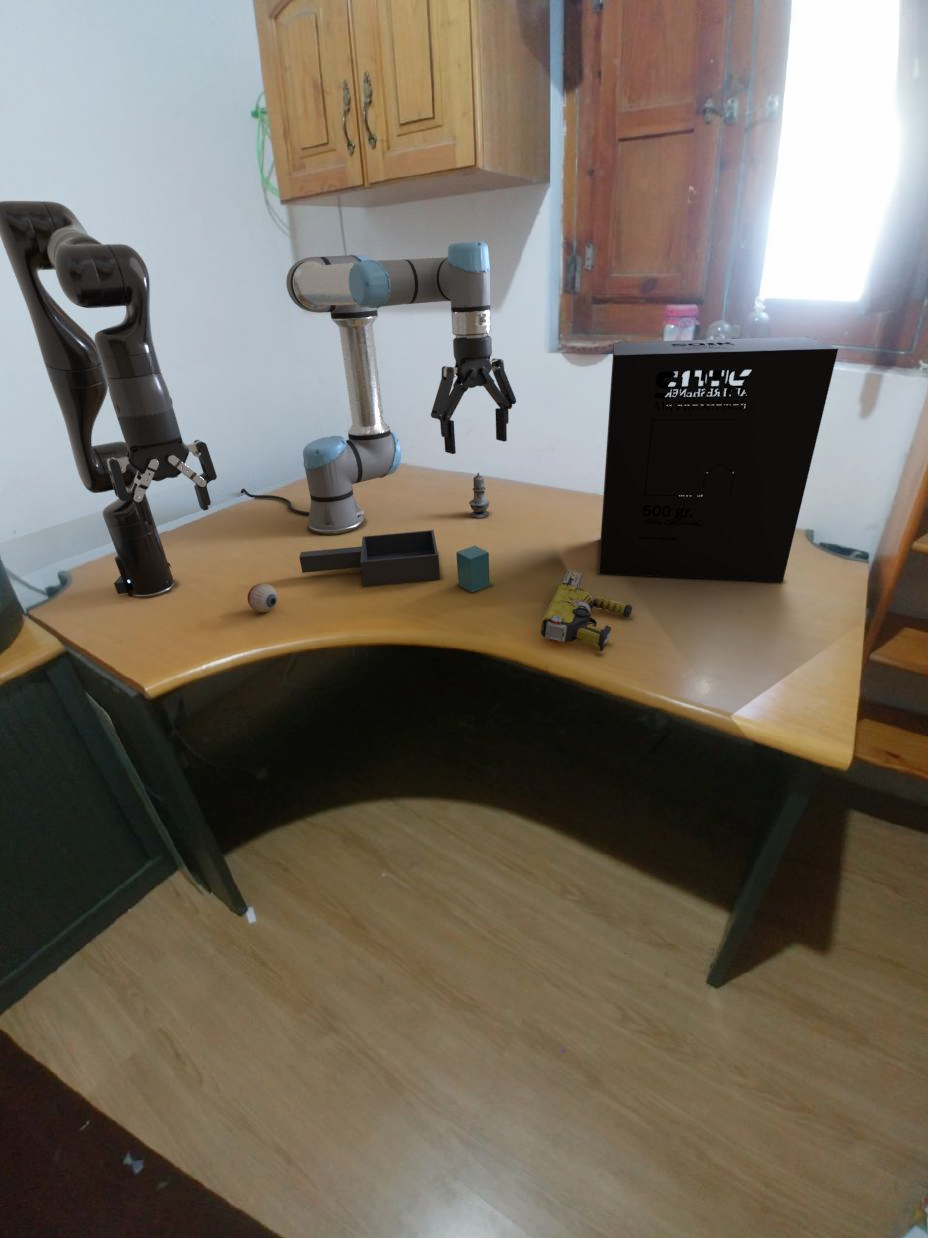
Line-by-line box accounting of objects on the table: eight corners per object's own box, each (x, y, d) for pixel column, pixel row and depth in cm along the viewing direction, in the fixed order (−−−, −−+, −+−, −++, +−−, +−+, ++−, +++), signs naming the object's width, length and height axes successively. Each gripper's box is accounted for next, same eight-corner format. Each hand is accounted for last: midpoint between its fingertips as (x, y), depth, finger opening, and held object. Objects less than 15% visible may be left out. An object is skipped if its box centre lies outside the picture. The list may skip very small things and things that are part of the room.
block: (458, 585, 133) (456, 551, 129) (476, 578, 136) (474, 545, 132) (471, 592, 130) (470, 558, 126) (490, 585, 132) (488, 552, 128)
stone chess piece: (488, 518, 168) (487, 475, 162) (467, 517, 169) (465, 475, 163) (491, 510, 173) (490, 469, 167) (471, 510, 174) (469, 469, 168)
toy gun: (638, 581, 123) (566, 568, 127) (626, 636, 103) (540, 619, 107) (633, 601, 126) (563, 588, 130) (621, 659, 106) (537, 641, 110)
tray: (435, 552, 149) (433, 529, 146) (440, 579, 136) (438, 554, 133) (308, 564, 147) (303, 541, 144) (300, 592, 134) (295, 568, 131)
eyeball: (265, 620, 124) (259, 594, 121) (245, 613, 127) (238, 588, 124) (287, 607, 128) (281, 582, 125) (266, 601, 131) (260, 576, 128)
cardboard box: (762, 543, 144) (806, 336, 121) (782, 581, 126) (838, 348, 104) (600, 538, 151) (613, 342, 129) (599, 574, 134) (614, 354, 112)
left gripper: (186, 397, 92) (214, 499, 101) (84, 413, 85) (122, 522, 93) (203, 403, 87) (230, 510, 95) (95, 420, 80) (135, 535, 88)
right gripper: (429, 343, 108) (438, 461, 118) (533, 330, 120) (532, 438, 131) (407, 341, 113) (417, 454, 124) (508, 328, 125) (510, 432, 136)
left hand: (177, 516), depth 94 cm, fingers open, 8 cm apart
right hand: (476, 446), depth 127 cm, fingers open, 13 cm apart
